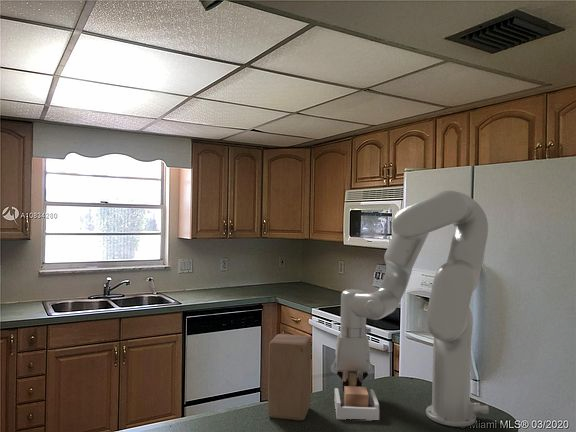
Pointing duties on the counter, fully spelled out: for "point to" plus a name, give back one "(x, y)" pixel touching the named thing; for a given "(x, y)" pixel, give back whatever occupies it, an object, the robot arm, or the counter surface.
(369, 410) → the white u-shaped bracket
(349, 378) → the block
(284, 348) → the wooden block
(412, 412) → the counter surface
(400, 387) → the counter surface
